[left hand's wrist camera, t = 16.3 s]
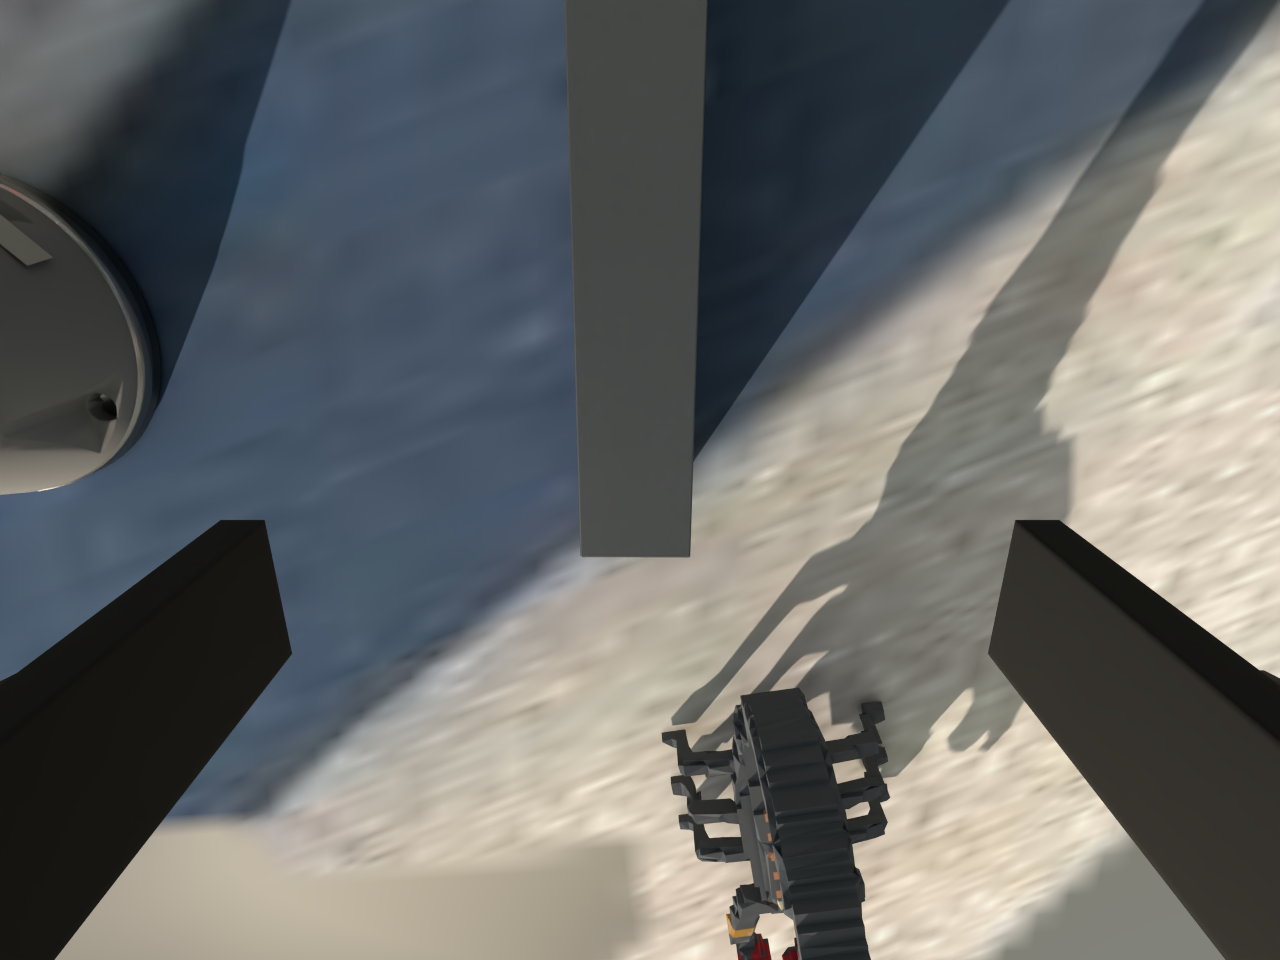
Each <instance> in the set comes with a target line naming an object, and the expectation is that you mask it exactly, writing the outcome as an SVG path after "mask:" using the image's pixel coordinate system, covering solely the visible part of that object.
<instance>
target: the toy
mask: <svg viewBox="0 0 1280 960" xmlns="http://www.w3.org/2000/svg"><path fill="white" fill-rule="evenodd" d="M859 716H860V719H861V721H862V724H863V727H864V730H865V731H861V733H859V734H854V735H849V736H847V737H846V738H845V739H839V740H832V741H825V739H824V737H823V735H822V733H821V731H820V729H819V727H818V725H817V723H816V721H815V718H814V716H813V714H812V712H811V711H810V710H809V709H808V707H807V703H806V700H805V696H804V694H803V693H802V691H801V690H800V689H799V688H793V689H785V690H778V691H771V692H763V693H756V694H749V695H741V705H736V707H735V711H734V720H733V725H734V736H733V745H732V749H731V750H725V751H704V752H692V751H691V749H690V747H689V745H688V741H687V736H686V731H685V730H678V731H671V732H664V733H662V742H664V743H666V744H668V745H670V746H672V747H674V748H677V756H678V767H679V770H680V773H681V774H682V775H681V776H674V777H671V786H672V790H673V795H681V796H687V808H688V814H684V815H679V824H680V829H687V830H692V831H694V842H695V852H696V855H697V858H698V859H700V860H701V861H708V862H726V863H729V862H738V861H750V862H751V868H752V874H753V880H754V883H753V884H750V885H740V888H737V889H736V896H732V897H733V903H734V905H732V906H730V914H726V916H727V923H728V930H729V937H730V943H731V945H732V944H736V946H737V954H738V960H771V955H770V949H769V943H768V939H763V938H762V935H761V934H756V933H755V932H754V931H755V928H756V925H757V922H758V920H759V918H760V916H759V914H765V913H771V914H775V913H784V914H785V915H786V916H788V917H789V918H791V919H792V920H793V921H794V928H795V933H796V938H794V940H795V946H793V947H788V948H787V949H786V951H785V952H784V954H783V955H782V958H783V960H871V958H870V955H869V952H868V945H867V941H866V938H865V927H864V923H863V920H862V906H861V903H862V902H864V901H865V884H864V881H863V879H862V876H861V873H860V871H859V869H858V868H856V867H855V863H854V855H853V847H852V844H854V843H858V842H862V841H865V840H869V839H873V838H876V837H879V836H881V835H884V834H885V832H884V830H885V827H886V825H887V823H888V822H887V819H886V817H885V814H884V812H883V809H882V807H881V804H880V802H883V801H887V800H888V799H889V798H890V796H889V793H888V790H887V784H885V783H884V781H883V779H882V776H881V774H880V771H879V769H878V767H877V766H879V765H881V764H884V763H886V762H888V758H887V754H886V751H885V748H884V747H883V748H879V746H878V744H880V743H882V742H881V739H880V736H879V734H878V731H877V729H876V726H875V725H874V724H876V723H879V722H882V721H883V720H885V717H884V710H883V707H882V703H881V702H875V703H868V704H862V714H859ZM859 758H862V761H863V763H864V766H865V768H866V771H867V772H864V776H865V778H860V779H856V780H852V781H848V782H843V783H839V784H837V782H836V778H835V774H834V770H833V765H832V764H834V763H839V762H844V761H849V760H854V759H859ZM703 774H705V775H706V777H712V776H717V775H723V774H731V778H732V784H733V790H734V799H735V802H734V801H733V800H731V799H716V800H701V792H698V793H696V787H695V784H694V782H693V780H692V778H691V777H690V776H694V775H703ZM867 801H868V803H869V806H870V811H869V813H868V815H865V816H861V817H856V818H851V819H847V817H846V812H845V809H850V808H851V807H853V806H855V805H857V804H858V803H861V802H867ZM717 822H726V823H733V824H739V826H740V832H741V837H720V838H709V837H708V835H707V833H706V831H705V828H704V824H706V823H717Z"/></svg>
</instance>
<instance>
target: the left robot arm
mask: <svg viewBox="0 0 1280 960" xmlns="http://www.w3.org/2000/svg"><path fill="white" fill-rule="evenodd" d="M160 380H161V360H160V351H159V345H158V340H157V335H156V331H155V328H154V325H153V321H152V318H151V315H150V313H149V310H148V308H147V305H146V303H145V301H144V299H143V297H142V295H141V293H140V291H139V289H138V287H137V285H136V283H135V282H134V280H133V278H132V277H131V275H130V274H129V272H128V270H127V269H126V268H125V266H124V265H123V263H122V262H121V261H120V259H119V258H118V257H117V255H116V254H115V253H114V252H113V251H112V249H111V248H110V247H109V246H108V245H107V244H106V242H105V241H104V240H103V239H102V238H101V237H100V236H99V235H98V234H97V233H96V232H95V231H94V230H93V229H92V228H91V227H90V226H88V225H87V224H86V223H85V222H84V221H83V220H82V219H80V218H79V217H78V216H77V215H76V214H74V213H73V212H71V211H70V210H69V209H67V208H66V207H65V206H63V205H62V204H60V203H59V202H57V201H56V200H54V199H53V198H51V197H49V196H48V195H46V194H44V193H42V192H41V191H39V190H37V189H35V188H33V187H31V186H29V185H27V184H24V183H22V182H20V181H17V180H15V179H13V178H9V177H6V176H3V175H0V495H1V494H13V493H24V492H33V491H41V490H47V489H53V488H57V487H61V486H64V485H68V484H70V483H73V482H75V481H78V480H80V479H82V478H84V477H86V476H88V475H90V474H92V473H94V472H96V471H98V470H100V469H102V468H104V467H106V466H108V465H110V464H112V463H113V462H115V461H116V460H118V459H119V458H120V457H122V456H123V455H124V454H125V453H126V452H128V451H129V450H130V449H131V448H132V447H133V446H134V445H135V443H136V442H137V441H138V440H139V439H140V437H141V436H142V434H143V433H144V431H145V430H146V428H147V426H148V424H149V422H150V420H151V418H152V416H153V413H154V410H155V407H156V404H157V400H158V395H159V391H160ZM291 654H292V651H291V646H290V642H289V637H288V632H287V627H286V622H285V617H284V612H283V608H282V603H281V598H280V593H279V588H278V583H277V578H276V573H275V569H274V564H273V559H272V554H271V549H270V544H269V539H268V534H267V530H266V525H265V520H220V521H219V522H218V523H216V524H215V525H214V526H212V527H211V528H210V529H208V530H207V531H206V532H204V533H203V534H202V535H200V536H199V537H198V538H196V539H195V540H194V541H192V542H191V543H190V544H188V545H187V546H186V547H184V548H183V549H182V550H180V551H179V552H178V553H176V554H175V555H174V556H172V557H171V558H170V559H168V560H167V561H166V562H164V563H163V564H162V565H160V566H159V567H158V568H156V569H155V570H154V571H152V572H151V573H150V574H148V575H147V576H146V577H144V578H143V579H142V580H140V581H139V582H138V583H136V584H135V585H134V586H132V587H131V588H130V589H128V590H127V591H126V592H124V593H123V594H122V595H120V596H119V597H118V598H116V599H115V600H114V601H112V602H111V603H110V604H108V605H107V606H106V607H104V608H103V609H102V610H100V611H99V612H98V613H96V614H95V615H94V616H92V617H91V618H90V619H88V620H87V621H86V622H84V623H83V624H82V625H80V626H79V627H78V628H76V629H75V630H74V631H72V632H71V633H70V634H68V635H67V636H66V637H64V638H63V639H62V640H60V641H59V642H58V643H56V644H55V645H54V646H52V647H51V648H50V649H48V650H47V651H46V652H44V653H43V654H42V655H40V656H39V657H38V658H36V659H35V660H34V661H32V662H31V663H30V664H28V665H27V666H26V667H24V668H23V669H22V670H20V671H19V672H18V673H16V674H14V675H12V676H10V677H8V678H6V679H4V680H2V681H0V960H55V958H56V957H57V956H58V954H59V953H60V952H61V950H62V949H63V948H64V947H65V945H66V944H67V943H68V942H69V940H70V939H71V938H72V936H73V935H74V934H75V933H76V931H77V930H78V929H79V927H80V926H81V925H82V924H83V922H84V921H85V920H86V918H87V917H88V916H89V915H90V913H91V912H92V911H93V909H94V908H95V907H96V905H97V904H98V903H99V902H100V900H101V899H102V898H103V897H104V895H105V894H106V893H107V891H108V890H109V889H110V888H111V886H112V885H113V884H114V882H115V881H116V880H117V878H118V877H119V876H120V875H121V873H122V872H123V871H124V869H125V868H126V867H127V866H128V864H129V863H130V862H131V860H132V859H133V858H134V857H135V855H136V854H137V853H138V851H139V850H140V849H141V848H142V846H143V845H144V844H145V842H146V841H147V840H148V839H149V837H150V836H151V835H152V833H153V832H154V831H155V830H156V828H157V827H158V826H159V824H160V823H161V822H162V821H163V819H164V818H165V817H166V815H167V814H168V813H169V812H170V810H171V809H172V808H173V806H174V805H175V804H176V802H177V801H178V800H179V799H180V797H181V796H182V795H183V793H184V792H185V791H186V790H187V788H188V787H189V786H190V784H191V783H192V782H193V781H194V779H195V778H196V777H197V775H198V774H199V773H200V772H201V770H202V769H203V768H204V766H205V765H206V764H207V763H208V761H209V760H210V759H211V757H212V756H213V755H214V754H215V752H216V751H217V750H218V748H219V747H220V746H221V745H222V743H223V742H224V741H225V739H226V738H227V737H228V736H229V734H230V733H231V732H232V730H233V729H234V728H235V726H236V725H237V724H238V723H239V721H240V720H241V719H242V717H243V716H244V715H245V714H246V712H247V711H248V710H249V708H250V707H251V706H252V705H253V703H254V702H255V701H256V699H257V698H258V697H259V696H260V694H261V693H262V692H263V690H264V689H265V688H266V687H267V685H268V684H269V683H270V681H271V680H272V679H273V678H274V676H275V675H276V674H277V672H278V671H279V670H280V669H281V667H282V666H283V665H284V663H285V662H286V661H287V660H288V658H289V657H290V656H291ZM988 654H989V656H990V657H991V658H992V660H993V661H994V662H995V663H996V665H997V666H998V667H999V669H1000V670H1001V671H1002V672H1003V674H1004V675H1005V676H1006V678H1007V679H1008V680H1009V681H1010V683H1011V684H1012V685H1013V687H1014V688H1015V689H1016V690H1017V692H1018V693H1019V694H1020V696H1021V697H1022V698H1023V699H1024V701H1025V702H1026V703H1027V705H1028V706H1029V707H1030V708H1031V710H1032V711H1033V712H1034V714H1035V715H1036V716H1037V717H1038V719H1039V720H1040V721H1041V723H1042V724H1043V725H1044V726H1045V728H1046V729H1047V730H1048V732H1049V733H1050V734H1051V736H1052V737H1053V738H1054V739H1055V741H1056V742H1057V743H1058V745H1059V746H1060V747H1061V748H1062V750H1063V751H1064V752H1065V754H1066V755H1067V756H1068V757H1069V759H1070V760H1071V761H1072V763H1073V764H1074V765H1075V766H1076V768H1077V769H1078V770H1079V772H1080V773H1081V774H1082V775H1083V777H1084V778H1085V779H1086V781H1087V782H1088V783H1089V784H1090V786H1091V787H1092V788H1093V790H1094V791H1095V792H1096V793H1097V795H1098V796H1099V797H1100V799H1101V800H1102V801H1103V802H1104V804H1105V805H1106V806H1107V808H1108V809H1109V810H1110V812H1111V813H1112V814H1113V815H1114V817H1115V818H1116V819H1117V821H1118V822H1119V823H1120V824H1121V826H1122V827H1123V828H1124V830H1125V831H1126V832H1127V833H1128V835H1129V836H1130V837H1131V839H1132V840H1133V841H1134V842H1135V844H1136V845H1137V846H1138V848H1139V849H1140V850H1141V851H1142V853H1143V854H1144V855H1145V857H1146V858H1147V859H1148V860H1149V862H1150V863H1151V864H1152V866H1153V867H1154V868H1155V869H1156V871H1157V872H1158V873H1159V875H1160V876H1161V877H1162V878H1163V880H1164V881H1165V882H1166V884H1167V885H1168V886H1169V888H1170V889H1171V890H1172V891H1173V893H1174V894H1175V895H1176V896H1177V898H1178V899H1179V900H1180V902H1181V903H1182V904H1183V906H1184V907H1185V908H1186V909H1187V911H1188V912H1189V913H1190V914H1191V916H1192V917H1193V918H1194V920H1195V921H1196V922H1197V924H1198V925H1199V926H1200V927H1201V929H1202V930H1203V931H1204V932H1205V934H1206V935H1207V936H1208V938H1209V939H1210V940H1211V942H1212V943H1213V944H1214V945H1215V947H1216V948H1217V949H1218V951H1219V952H1220V953H1221V954H1222V956H1223V957H1224V958H1225V960H1280V678H1278V677H1276V676H1274V675H1272V674H1270V673H1268V672H1266V671H1264V670H1258V669H1257V668H1256V667H1254V666H1253V665H1252V664H1250V663H1249V662H1248V661H1246V660H1245V659H1244V658H1242V657H1241V656H1240V655H1238V654H1237V653H1236V652H1234V651H1233V650H1232V649H1230V648H1229V647H1228V646H1226V645H1225V644H1224V643H1222V642H1221V641H1220V640H1218V639H1217V638H1216V637H1214V636H1213V635H1212V634H1210V633H1209V632H1208V631H1206V630H1205V629H1204V628H1202V627H1201V626H1200V625H1198V624H1197V623H1196V622H1194V621H1193V620H1192V619H1190V618H1189V617H1188V616H1186V615H1185V614H1184V613H1182V612H1181V611H1180V610H1178V609H1177V608H1176V607H1174V606H1173V605H1172V604H1170V603H1169V602H1168V601H1166V600H1165V599H1164V598H1162V597H1161V596H1160V595H1158V594H1157V593H1156V592H1154V591H1153V590H1152V589H1150V588H1149V587H1148V586H1146V585H1145V584H1144V583H1142V582H1141V581H1140V580H1138V579H1137V578H1136V577H1134V576H1133V575H1132V574H1130V573H1129V572H1128V571H1126V570H1125V569H1124V568H1122V567H1121V566H1120V565H1118V564H1117V563H1116V562H1114V561H1113V560H1112V559H1110V558H1109V557H1108V556H1106V555H1105V554H1104V553H1102V552H1101V551H1100V550H1098V549H1097V548H1096V547H1094V546H1093V545H1092V544H1090V543H1089V542H1088V541H1086V540H1085V539H1084V538H1082V537H1081V536H1080V535H1078V534H1077V533H1076V532H1074V531H1073V530H1072V529H1070V528H1069V527H1068V526H1066V525H1065V524H1064V523H1062V522H1061V521H1060V520H1015V525H1014V530H1013V534H1012V539H1011V544H1010V549H1009V554H1008V559H1007V564H1006V569H1005V573H1004V578H1003V583H1002V588H1001V593H1000V598H999V603H998V608H997V612H996V617H995V622H994V627H993V632H992V637H991V642H990V646H989V651H988Z"/></svg>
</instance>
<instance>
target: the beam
mask: <svg viewBox="0 0 1280 960" xmlns="http://www.w3.org/2000/svg"><path fill="white" fill-rule="evenodd" d="M707 20H708V0H565V35H566V69H567V104H568V139H569V174H570V208H571V243H572V278H573V313H574V348H575V382H576V417H577V452H578V487H579V521H580V556H581V557H690V545H691V514H692V483H693V452H694V421H695V390H696V359H697V329H698V298H699V267H700V236H701V205H702V174H703V143H704V112H705V81H706V51H707Z"/></svg>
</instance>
